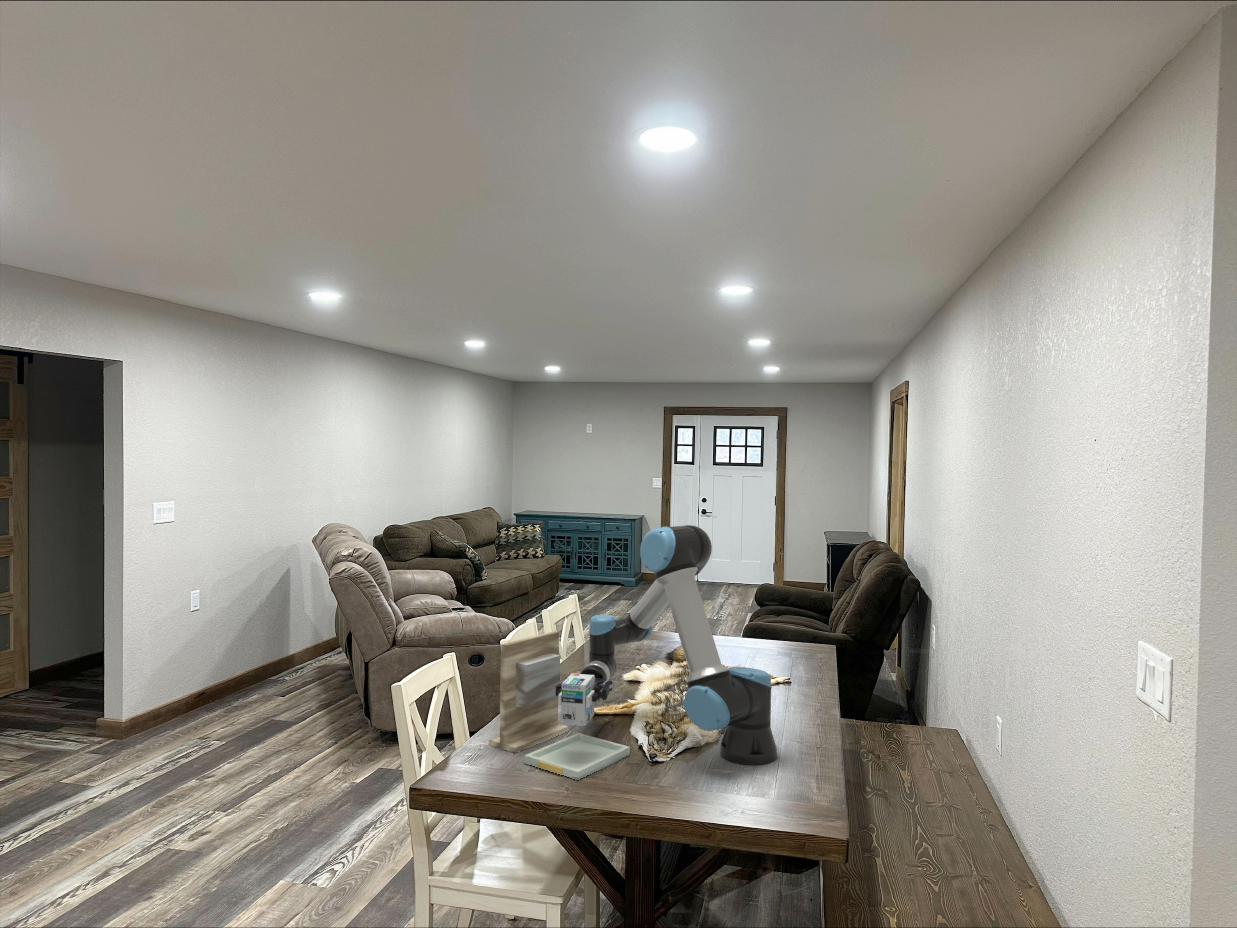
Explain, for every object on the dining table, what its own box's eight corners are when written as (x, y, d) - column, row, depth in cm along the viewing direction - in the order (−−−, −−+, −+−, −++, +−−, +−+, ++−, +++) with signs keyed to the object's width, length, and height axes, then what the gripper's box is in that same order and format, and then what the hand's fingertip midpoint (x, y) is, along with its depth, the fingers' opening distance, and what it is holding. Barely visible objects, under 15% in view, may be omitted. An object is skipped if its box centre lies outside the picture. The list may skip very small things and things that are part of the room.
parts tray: (629, 755, 217) (630, 746, 217) (576, 781, 199) (576, 772, 199) (578, 740, 227) (578, 732, 227) (523, 764, 209) (523, 755, 209)
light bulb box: (585, 726, 207) (586, 685, 207) (560, 724, 209) (560, 683, 209) (595, 713, 218) (595, 674, 218) (570, 712, 219) (571, 672, 219)
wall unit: (568, 731, 235) (569, 633, 235) (515, 753, 217) (516, 647, 217) (542, 724, 241) (543, 629, 241) (489, 745, 223) (490, 642, 223)
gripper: (627, 693, 229) (610, 718, 206) (560, 688, 233) (536, 712, 210) (627, 666, 229) (610, 689, 206) (561, 662, 233) (537, 684, 210)
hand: (573, 701), depth 208 cm, fingers closed on light bulb box, 7 cm apart
